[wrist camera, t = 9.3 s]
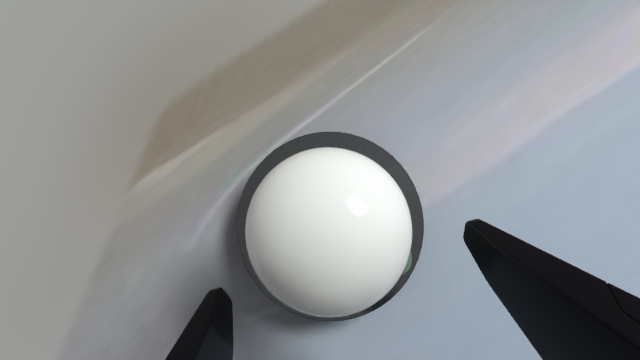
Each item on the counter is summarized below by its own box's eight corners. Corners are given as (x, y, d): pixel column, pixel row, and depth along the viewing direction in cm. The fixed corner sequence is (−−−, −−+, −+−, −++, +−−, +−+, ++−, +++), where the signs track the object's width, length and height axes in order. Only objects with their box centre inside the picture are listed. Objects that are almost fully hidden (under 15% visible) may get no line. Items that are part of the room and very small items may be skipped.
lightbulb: (347, 290, 17) (371, 406, 7) (267, 240, 18) (170, 271, 7) (392, 207, 18) (481, 189, 7) (314, 163, 19) (287, 86, 8)
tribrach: (362, 343, 19) (368, 362, 17) (215, 251, 21) (199, 256, 18) (440, 190, 21) (456, 185, 18) (298, 114, 22) (294, 100, 20)
